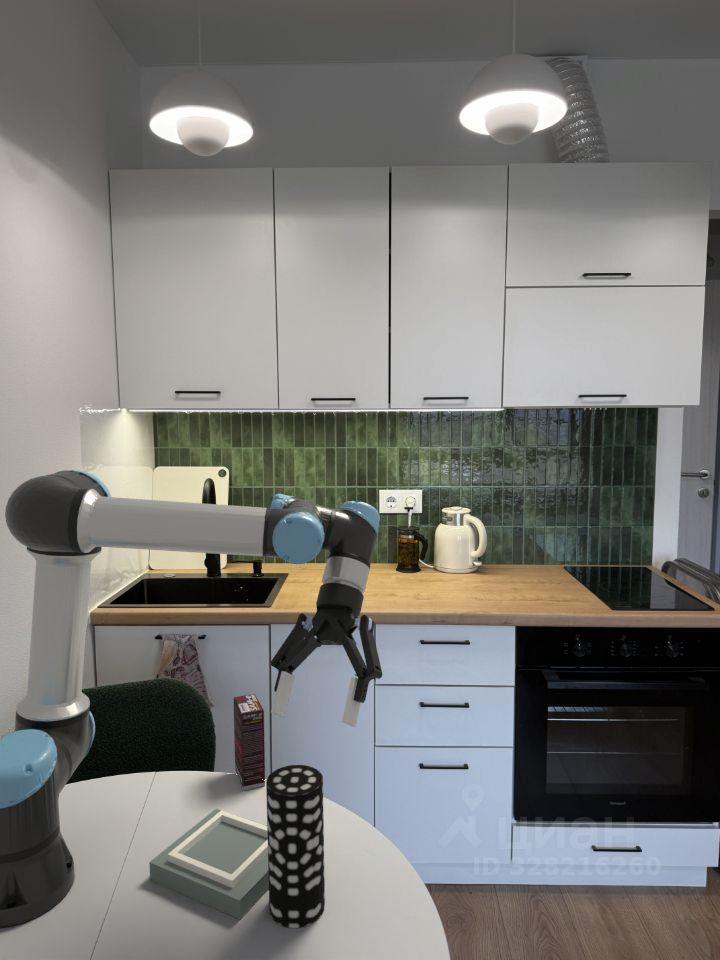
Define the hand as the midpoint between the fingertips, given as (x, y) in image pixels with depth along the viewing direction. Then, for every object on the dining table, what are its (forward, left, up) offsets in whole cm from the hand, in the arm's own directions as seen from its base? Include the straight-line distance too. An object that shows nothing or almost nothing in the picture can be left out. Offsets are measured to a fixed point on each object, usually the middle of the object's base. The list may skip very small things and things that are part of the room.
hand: (311, 719), depth 99 cm
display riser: (-15, -3, -27) cm, 31 cm away
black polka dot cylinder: (0, -5, -27) cm, 28 cm away
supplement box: (-28, +20, -27) cm, 44 cm away
